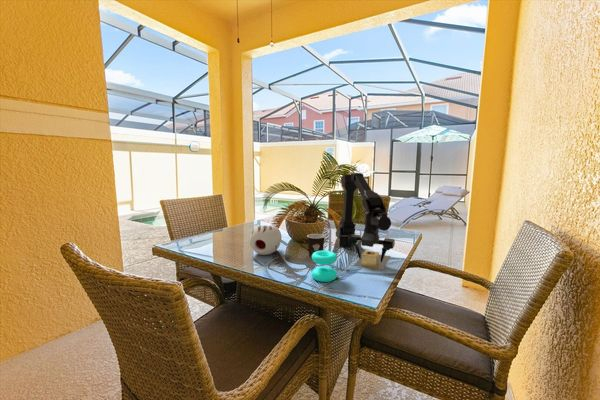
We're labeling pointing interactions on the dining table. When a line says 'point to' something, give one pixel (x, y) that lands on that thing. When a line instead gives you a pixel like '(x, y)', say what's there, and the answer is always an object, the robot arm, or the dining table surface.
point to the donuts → (323, 272)
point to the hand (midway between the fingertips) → (370, 260)
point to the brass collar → (370, 258)
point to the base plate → (379, 266)
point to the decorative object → (265, 239)
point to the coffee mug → (314, 243)
